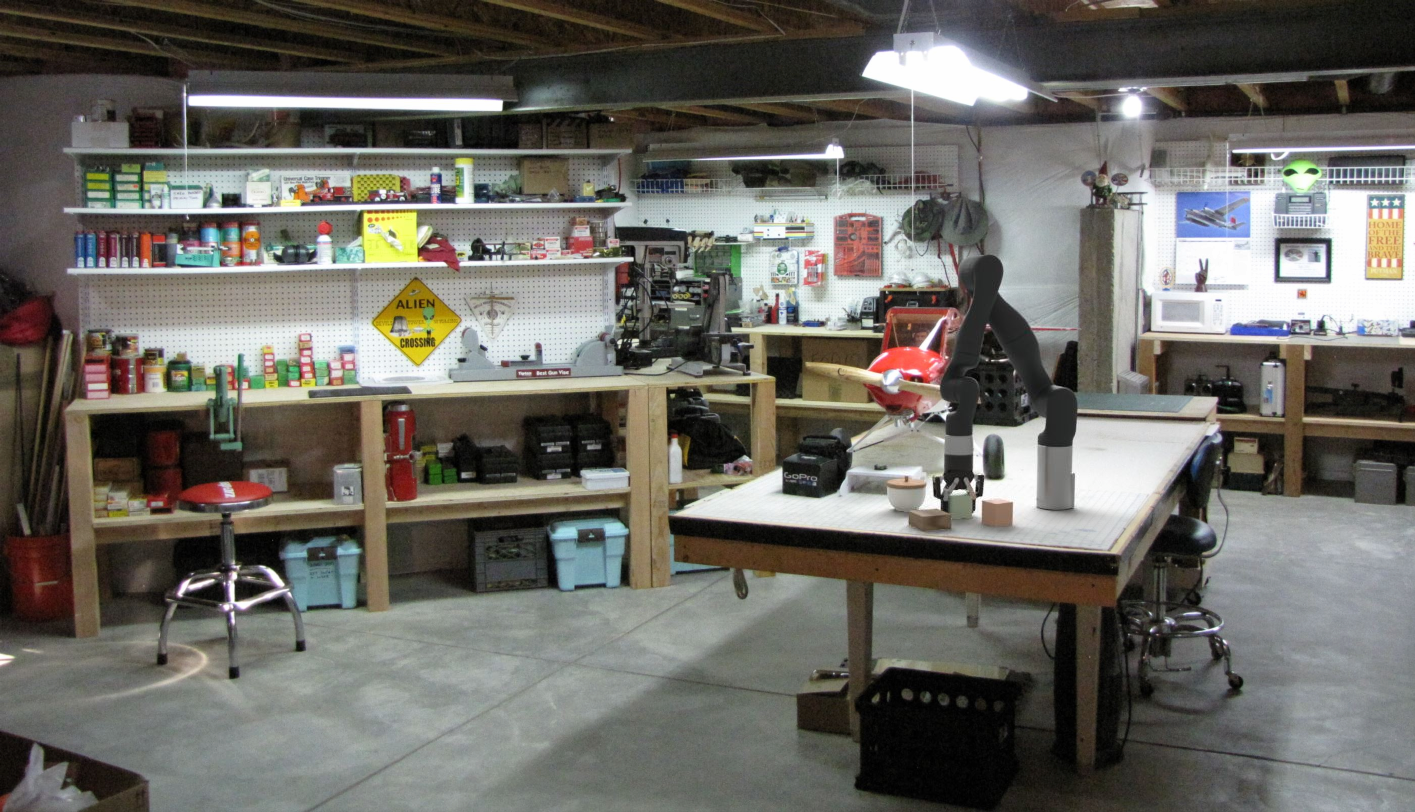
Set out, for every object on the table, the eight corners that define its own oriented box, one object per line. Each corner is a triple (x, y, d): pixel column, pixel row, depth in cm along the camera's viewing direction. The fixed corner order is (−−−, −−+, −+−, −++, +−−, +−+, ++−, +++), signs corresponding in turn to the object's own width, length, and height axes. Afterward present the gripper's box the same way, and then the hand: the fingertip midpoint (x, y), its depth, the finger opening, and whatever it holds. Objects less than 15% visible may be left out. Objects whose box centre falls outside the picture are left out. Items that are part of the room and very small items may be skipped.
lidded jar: (879, 507, 338) (879, 474, 337) (913, 504, 342) (913, 471, 341) (898, 515, 328) (898, 480, 327) (933, 511, 332) (933, 477, 331)
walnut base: (936, 523, 318) (936, 508, 318) (951, 529, 311) (951, 514, 310) (908, 526, 316) (908, 510, 315) (922, 532, 308) (922, 516, 308)
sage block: (963, 514, 329) (964, 492, 328) (972, 518, 323) (972, 496, 322) (944, 515, 327) (944, 493, 327) (952, 519, 322) (952, 497, 321)
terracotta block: (998, 521, 319) (998, 498, 319) (1012, 524, 315) (1012, 501, 314) (981, 523, 317) (982, 500, 316) (995, 527, 312) (995, 504, 311)
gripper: (978, 448, 328) (977, 509, 330) (927, 450, 326) (927, 512, 327) (990, 452, 321) (989, 515, 323) (938, 454, 318) (937, 517, 320)
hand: (957, 513), depth 325 cm, fingers open, 6 cm apart
